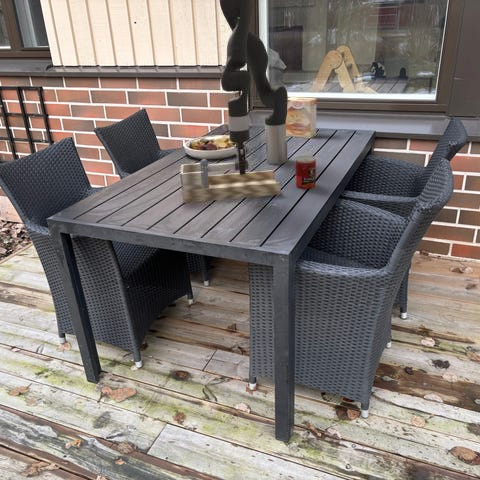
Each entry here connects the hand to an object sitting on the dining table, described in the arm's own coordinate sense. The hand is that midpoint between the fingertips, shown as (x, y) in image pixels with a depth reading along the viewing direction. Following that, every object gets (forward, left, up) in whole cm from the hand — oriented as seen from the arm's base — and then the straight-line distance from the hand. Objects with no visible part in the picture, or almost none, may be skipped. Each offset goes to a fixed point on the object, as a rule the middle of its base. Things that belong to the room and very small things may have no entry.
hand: (241, 171), depth 182 cm
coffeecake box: (-39, -77, -8) cm, 86 cm away
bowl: (+8, -59, -8) cm, 60 cm away
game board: (+5, 0, -8) cm, 9 cm away
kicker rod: (+6, 0, -5) cm, 8 cm away
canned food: (-25, +1, -8) cm, 26 cm away
